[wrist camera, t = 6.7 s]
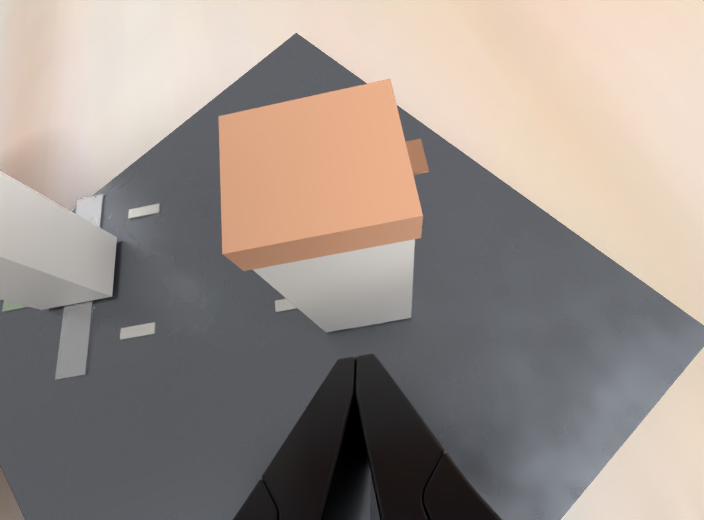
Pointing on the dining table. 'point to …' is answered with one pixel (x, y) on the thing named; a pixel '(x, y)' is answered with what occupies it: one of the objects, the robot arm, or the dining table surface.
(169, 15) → the dining table surface
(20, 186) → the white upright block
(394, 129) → the terracotta slider
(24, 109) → the dining table surface
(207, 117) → the switch panel
